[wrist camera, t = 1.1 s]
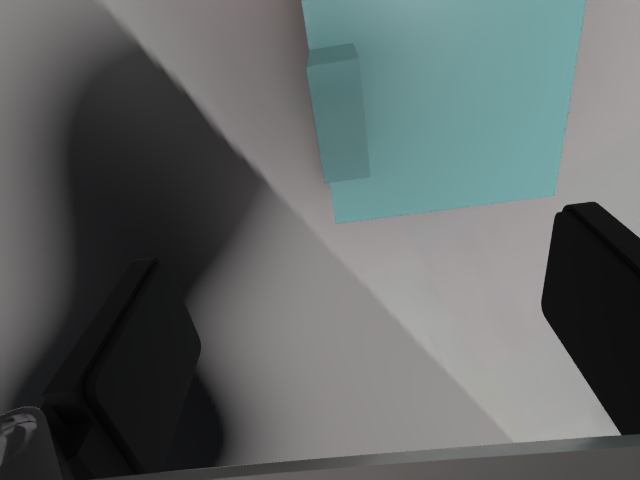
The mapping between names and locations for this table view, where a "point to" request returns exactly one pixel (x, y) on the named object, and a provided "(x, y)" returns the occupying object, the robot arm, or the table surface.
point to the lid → (439, 100)
